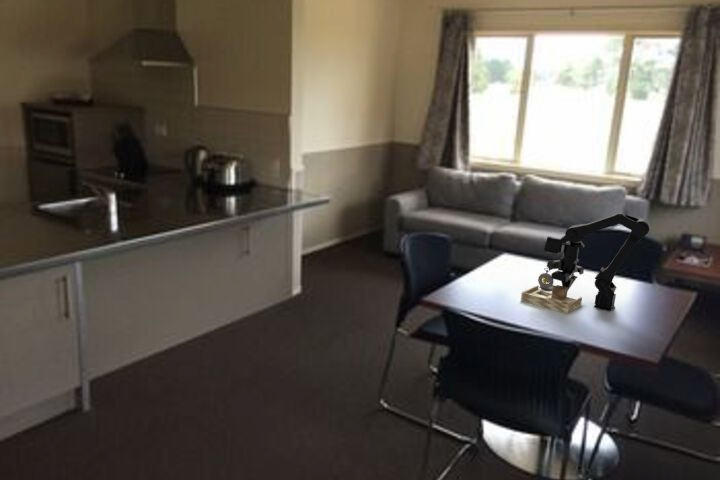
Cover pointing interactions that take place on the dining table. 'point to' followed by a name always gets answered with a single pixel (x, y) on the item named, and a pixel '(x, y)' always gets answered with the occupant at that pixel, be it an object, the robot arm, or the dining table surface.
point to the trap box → (550, 300)
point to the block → (559, 292)
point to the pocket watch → (546, 280)
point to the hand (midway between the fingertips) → (565, 292)
